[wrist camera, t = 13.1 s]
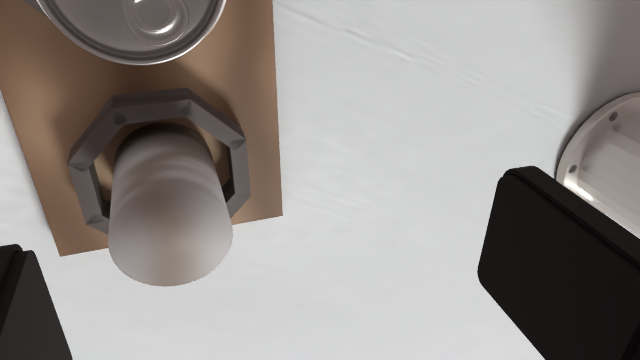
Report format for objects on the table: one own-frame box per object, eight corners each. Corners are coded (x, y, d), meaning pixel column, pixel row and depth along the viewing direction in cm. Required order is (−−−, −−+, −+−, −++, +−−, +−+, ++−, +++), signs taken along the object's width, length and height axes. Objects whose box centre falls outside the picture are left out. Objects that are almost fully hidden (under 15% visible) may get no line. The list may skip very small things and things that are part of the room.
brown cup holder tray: (256, -189, 25) (312, -224, 17) (277, 204, 37) (315, 288, 29) (-91, -204, 21) (-227, -259, 13) (62, 243, 33) (40, 351, 25)
